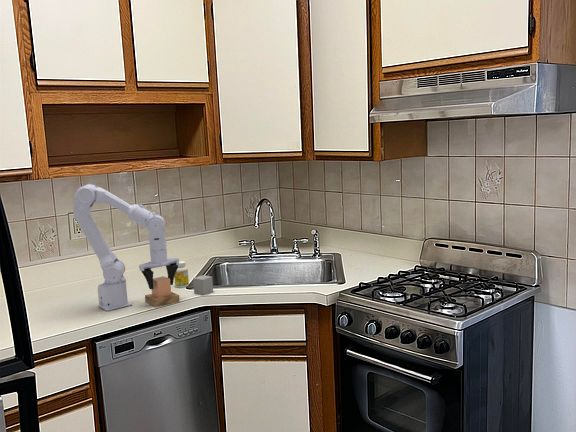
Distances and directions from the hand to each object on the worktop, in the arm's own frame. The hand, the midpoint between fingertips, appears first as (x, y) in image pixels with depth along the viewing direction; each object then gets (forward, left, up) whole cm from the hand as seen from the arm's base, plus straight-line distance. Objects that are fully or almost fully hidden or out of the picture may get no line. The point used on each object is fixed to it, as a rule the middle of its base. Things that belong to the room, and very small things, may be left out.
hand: (161, 286), depth 207 cm
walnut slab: (0, 0, -6) cm, 6 cm away
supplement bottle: (+16, +14, -6) cm, 22 cm away
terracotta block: (0, 0, -3) cm, 3 cm away
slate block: (+16, -1, -6) cm, 17 cm away
